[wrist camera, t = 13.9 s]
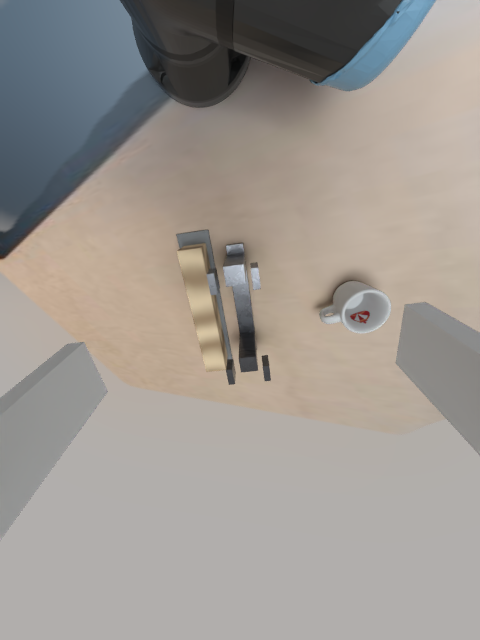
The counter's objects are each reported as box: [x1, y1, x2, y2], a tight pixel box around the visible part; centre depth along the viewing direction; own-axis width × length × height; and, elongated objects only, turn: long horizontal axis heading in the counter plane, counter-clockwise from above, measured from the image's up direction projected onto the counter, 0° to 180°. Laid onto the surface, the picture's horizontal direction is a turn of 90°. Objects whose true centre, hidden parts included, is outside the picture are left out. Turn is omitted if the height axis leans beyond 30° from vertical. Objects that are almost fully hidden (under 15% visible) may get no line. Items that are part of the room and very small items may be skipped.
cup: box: [319, 281, 391, 333], centre depth 45 cm, size 11×8×8 cm
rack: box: [206, 243, 271, 385], centre depth 43 cm, size 22×7×13 cm, turn 8°
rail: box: [177, 243, 228, 372], centre depth 47 cm, size 24×4×5 cm, turn 8°
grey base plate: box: [177, 230, 232, 359], centre depth 49 cm, size 28×6×1 cm, turn 8°
